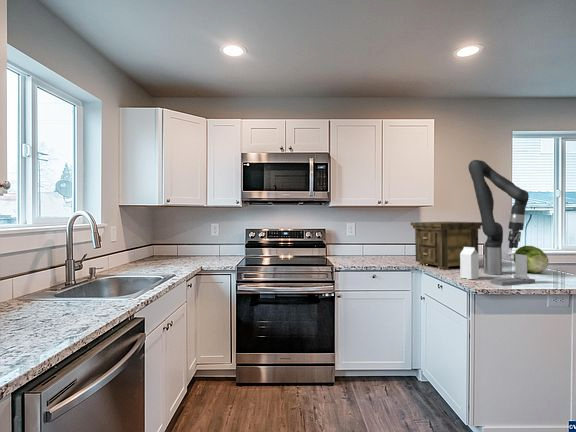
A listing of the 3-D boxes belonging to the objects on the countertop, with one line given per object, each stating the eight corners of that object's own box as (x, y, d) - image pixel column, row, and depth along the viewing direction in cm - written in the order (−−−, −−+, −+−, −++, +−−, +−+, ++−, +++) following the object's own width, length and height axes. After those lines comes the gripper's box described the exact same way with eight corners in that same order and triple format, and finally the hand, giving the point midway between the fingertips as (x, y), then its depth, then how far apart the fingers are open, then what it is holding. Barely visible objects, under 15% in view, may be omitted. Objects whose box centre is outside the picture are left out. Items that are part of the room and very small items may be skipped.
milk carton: (471, 280, 200) (470, 247, 200) (460, 278, 206) (459, 247, 206) (478, 279, 203) (478, 247, 203) (467, 277, 210) (467, 246, 210)
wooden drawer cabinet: (483, 268, 242) (483, 222, 242) (441, 271, 233) (440, 223, 233) (449, 261, 276) (448, 221, 276) (411, 264, 267) (410, 222, 267)
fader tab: (523, 279, 188) (522, 255, 188) (513, 277, 194) (513, 254, 194) (529, 278, 189) (528, 255, 189) (519, 276, 195) (519, 254, 195)
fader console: (502, 285, 184) (502, 281, 184) (490, 282, 192) (490, 279, 192) (535, 283, 189) (535, 279, 189) (522, 280, 197) (522, 276, 197)
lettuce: (524, 275, 213) (532, 249, 210) (506, 264, 236) (512, 240, 233) (553, 281, 211) (562, 255, 208) (532, 269, 234) (540, 245, 231)
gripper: (513, 221, 215) (509, 247, 216) (505, 220, 206) (502, 247, 207) (527, 223, 210) (523, 249, 210) (520, 222, 200) (516, 249, 201)
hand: (513, 248), depth 208 cm, fingers open, 8 cm apart
